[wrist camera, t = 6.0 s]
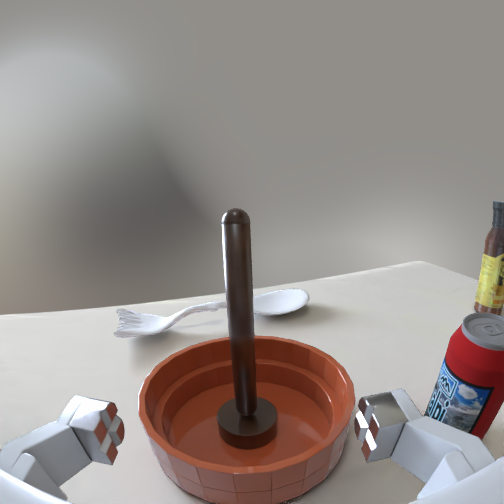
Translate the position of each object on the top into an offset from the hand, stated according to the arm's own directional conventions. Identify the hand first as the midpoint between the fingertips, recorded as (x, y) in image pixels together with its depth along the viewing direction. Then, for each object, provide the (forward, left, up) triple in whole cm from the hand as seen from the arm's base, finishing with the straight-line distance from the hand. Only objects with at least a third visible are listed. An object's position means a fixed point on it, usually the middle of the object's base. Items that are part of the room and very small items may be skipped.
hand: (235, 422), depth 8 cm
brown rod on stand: (-8, +9, -13) cm, 18 cm away
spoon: (-27, +23, -14) cm, 39 cm away
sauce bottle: (+13, +51, -14) cm, 54 cm away
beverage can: (+9, +17, -14) cm, 24 cm away
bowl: (-8, +9, -14) cm, 18 cm away
